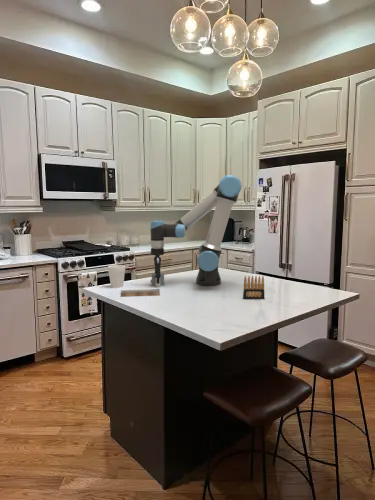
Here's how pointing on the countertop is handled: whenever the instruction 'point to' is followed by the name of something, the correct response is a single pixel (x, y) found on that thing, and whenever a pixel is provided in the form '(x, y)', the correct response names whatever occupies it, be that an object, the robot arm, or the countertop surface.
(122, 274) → the foam cup
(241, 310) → the countertop surface
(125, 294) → the board
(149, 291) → the brown wooden bar
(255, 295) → the ammunition clip
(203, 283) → the robot arm
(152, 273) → the module
